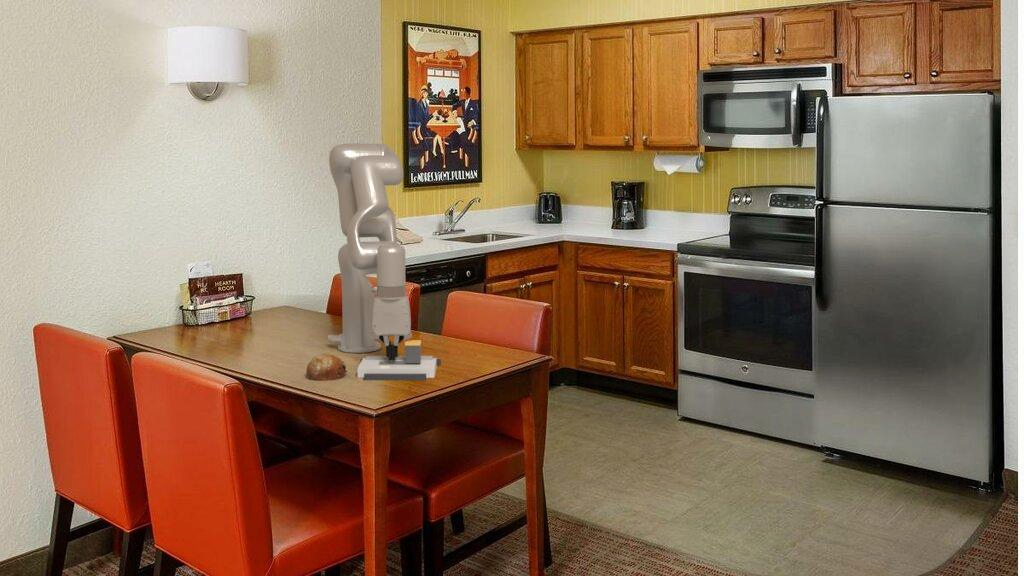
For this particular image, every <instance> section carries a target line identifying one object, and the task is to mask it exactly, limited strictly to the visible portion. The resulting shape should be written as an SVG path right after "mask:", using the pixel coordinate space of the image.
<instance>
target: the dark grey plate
mask: <svg viewBox="0 0 1024 576" xmlns="http://www.w3.org/2000/svg"><path fill="white" fill-rule="evenodd" d="M362 360H363V358H361V359H360V362H361V361H362ZM441 365H442V359H441V358H437V366H441ZM363 380H364V381H427V378H426V374H369V373H365V374H364V377H363Z"/></svg>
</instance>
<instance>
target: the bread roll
mask: <svg viewBox="0 0 1024 576" xmlns="http://www.w3.org/2000/svg"><path fill="white" fill-rule="evenodd" d="M306 366H307V367H306V377H307V378H308V379H309V380H310V381H317V382H325V381H326V382H328V381H336V380H340V379H342V378H344V377H345V376H346V374H347V372H348V370H346V368H347V365H346V364H345V362H344V360H342V359H341V358H339V357H338V356H336V355H334V354H331V353H326V352H325V353H324V352H323V353H319V354H317V355H315V356H313V358H311V360H310V361H309V362H308V363H307V365H306Z"/></svg>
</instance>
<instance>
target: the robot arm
mask: <svg viewBox="0 0 1024 576" xmlns="http://www.w3.org/2000/svg"><path fill="white" fill-rule="evenodd" d="M328 163H329V170H330V173H331V176H332V179H333V182H334V185H335V186H336V189H337V194H338V195H337V196H338V199H337V200H338V208H339V209H338V211H339V221H340V222H339V223H340V228H341V231H342V234H343V236H345V237H346V244H343V245H342V246H341V247H340V248H339V249H338V253H337V258H338V267H339V272H340V277H341V279H340V280H341V297H342V298H341V299H342V300H341V303H342V305H341V306H342V307H341V308H342V309H341V310H342V332H341V333H338V335H337V334H328V336H327V341H328V342H330V343H338V344H337V350H339V351H340V352H344V353H353V354H357V353H358V354H360V353H362V354H363V353H370V352H375V351H379V350H380V349H382V344H381V343H383V344H384V345H385V356H386V357H388V360H389V361H391V360H393V361H395V357H398V356H399V354H398V353H399V352H398V351H399V350H398V349H399V348H398V347H399V346H398V345H400V343H402V342H403V340H409V339H411V338H412V337H413V333H412V330H411V329H412V327H411V326H412V318H411V317H412V316H411V315H412V314H411V305H410V301H409V296H408V295H406V292H407V291H406V288H407V287H406V249H405V247H404V246H402V245H400V244H399V243H398V235H397V224H396V218H395V217H396V216H395V214H394V212H393V210H392V208H391V207H390V206H389V205H390V204H389V200H388V195H387V190H386V189H387V188H386V186H399V185H400V184H401V183H402V181H403V178H404V167H403V164H402V162H401V159H400V158H399V156H398V155H397V154H396V152H395V151H394V150H393V149H392V148H391V147H390V146H389V145H387V144H384V143H360V142H359V143H358V142H357V143H341V144H337V145H335V146H333V147H332V148H331V150H330V152H329V156H328ZM360 238H377V239H378V241H361V239H360ZM368 275H369V276H370V275H376V285H375V286H374V285H373V284H372V283H371V282H370V280H369V279H368V278H367V276H368ZM390 336H394V338H393V342H391V339H390ZM376 340H380V341H381V343H380V342H378V341H376Z"/></svg>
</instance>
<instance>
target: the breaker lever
mask: <svg viewBox="0 0 1024 576" xmlns="http://www.w3.org/2000/svg"><path fill="white" fill-rule="evenodd" d="M404 348H405V349H404V356H405V363H420V362H421V356H422V340H421V339H405V342H404Z"/></svg>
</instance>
